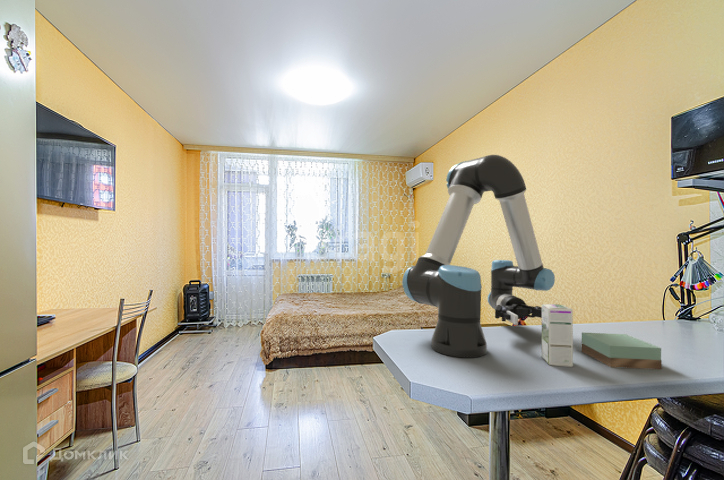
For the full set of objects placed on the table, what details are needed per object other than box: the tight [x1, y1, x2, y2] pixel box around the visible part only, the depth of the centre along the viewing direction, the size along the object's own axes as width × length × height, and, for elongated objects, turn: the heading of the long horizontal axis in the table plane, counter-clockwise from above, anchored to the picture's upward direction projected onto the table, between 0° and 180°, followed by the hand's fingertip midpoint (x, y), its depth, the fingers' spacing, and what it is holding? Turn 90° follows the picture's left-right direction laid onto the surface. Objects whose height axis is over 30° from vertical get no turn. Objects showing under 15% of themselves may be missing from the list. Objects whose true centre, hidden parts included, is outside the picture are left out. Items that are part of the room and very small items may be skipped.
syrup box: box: [541, 303, 574, 368], centre depth 85 cm, size 6×6×14 cm
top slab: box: [581, 332, 662, 360], centre depth 88 cm, size 12×12×3 cm
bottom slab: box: [581, 343, 663, 370], centre depth 88 cm, size 12×12×3 cm
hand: (541, 320), depth 94 cm, fingers open, 13 cm apart
